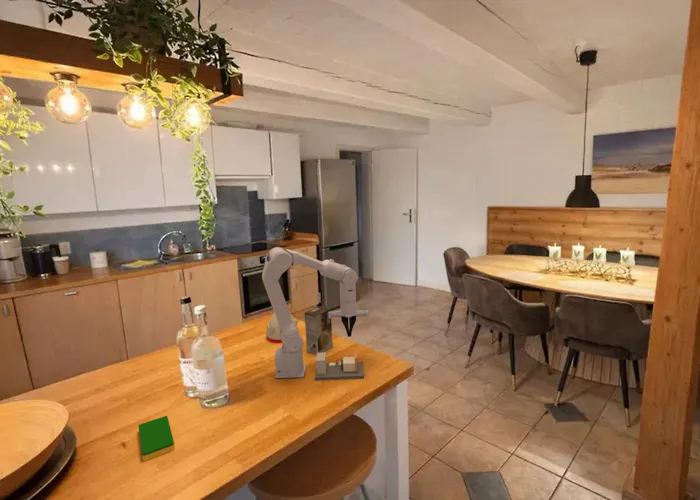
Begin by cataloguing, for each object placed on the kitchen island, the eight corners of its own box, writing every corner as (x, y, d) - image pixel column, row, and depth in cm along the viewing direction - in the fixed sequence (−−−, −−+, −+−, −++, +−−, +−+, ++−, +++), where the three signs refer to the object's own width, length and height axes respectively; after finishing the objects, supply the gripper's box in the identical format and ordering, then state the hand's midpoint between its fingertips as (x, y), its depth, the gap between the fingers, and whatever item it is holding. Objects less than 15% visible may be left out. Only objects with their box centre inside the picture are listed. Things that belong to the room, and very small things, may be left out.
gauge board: (314, 380, 124) (314, 363, 123) (317, 365, 134) (316, 350, 133) (364, 378, 124) (363, 361, 123) (362, 364, 134) (362, 348, 133)
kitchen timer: (277, 346, 152) (274, 311, 149) (260, 336, 162) (258, 304, 159) (305, 336, 161) (303, 303, 158) (287, 327, 171) (285, 296, 169)
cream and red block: (341, 372, 126) (340, 358, 125) (341, 362, 133) (340, 348, 132) (357, 372, 126) (357, 357, 125) (356, 361, 133) (356, 348, 133)
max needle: (335, 364, 132) (335, 362, 132) (336, 361, 133) (335, 360, 133) (337, 364, 132) (337, 362, 132) (337, 361, 133) (337, 360, 133)
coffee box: (321, 343, 153) (319, 305, 151) (333, 346, 150) (331, 308, 147) (306, 351, 146) (303, 312, 143) (318, 355, 142) (316, 315, 140)
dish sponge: (168, 422, 105) (167, 415, 105) (175, 451, 94) (174, 442, 93) (139, 432, 101) (138, 424, 101) (143, 463, 90) (141, 454, 89)
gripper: (327, 304, 130) (329, 340, 132) (368, 302, 130) (369, 339, 133) (328, 298, 137) (329, 333, 139) (367, 296, 137) (368, 331, 139)
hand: (349, 335), depth 136 cm, fingers closed
